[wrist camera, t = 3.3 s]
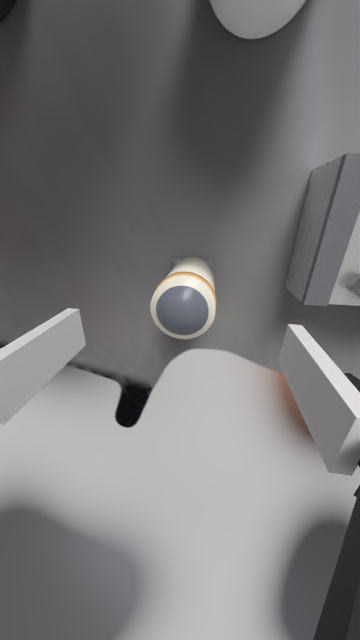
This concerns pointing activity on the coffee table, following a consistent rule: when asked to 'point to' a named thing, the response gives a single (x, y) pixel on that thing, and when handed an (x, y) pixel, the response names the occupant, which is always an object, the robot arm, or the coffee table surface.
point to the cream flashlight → (186, 298)
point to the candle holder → (255, 15)
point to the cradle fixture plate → (329, 237)
